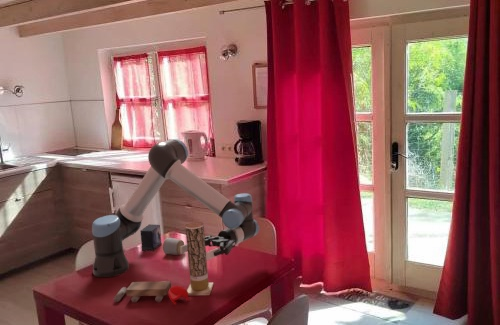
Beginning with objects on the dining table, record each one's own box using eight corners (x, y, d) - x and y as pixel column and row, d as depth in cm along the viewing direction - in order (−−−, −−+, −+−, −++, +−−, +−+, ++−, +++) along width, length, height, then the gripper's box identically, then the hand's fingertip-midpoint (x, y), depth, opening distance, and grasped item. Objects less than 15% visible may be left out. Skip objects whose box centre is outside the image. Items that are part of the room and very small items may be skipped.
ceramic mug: (178, 257, 216) (177, 241, 215) (163, 256, 219) (161, 240, 218) (189, 249, 226) (188, 234, 225) (174, 248, 229) (173, 233, 228)
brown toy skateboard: (113, 303, 174) (111, 290, 173) (121, 292, 182) (120, 281, 181) (166, 302, 172) (165, 289, 171) (172, 291, 180) (171, 279, 180)
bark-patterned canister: (201, 292, 176) (195, 228, 171) (187, 289, 179) (181, 226, 175) (212, 285, 181) (207, 223, 177) (198, 282, 185) (193, 221, 181)
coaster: (185, 295, 176) (185, 293, 176) (190, 285, 185) (190, 282, 185) (209, 295, 175) (209, 292, 175) (213, 284, 184) (213, 282, 184)
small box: (154, 251, 226) (152, 230, 225) (141, 251, 228) (139, 230, 226) (162, 244, 237) (160, 224, 235) (150, 244, 238) (148, 224, 236)
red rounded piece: (166, 299, 167) (180, 290, 166) (164, 287, 172) (178, 278, 171) (179, 311, 171) (193, 302, 171) (177, 299, 176) (190, 290, 176)
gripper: (255, 250, 185) (219, 269, 169) (209, 240, 201) (171, 256, 185) (253, 232, 184) (217, 249, 168) (207, 223, 200) (170, 238, 183)
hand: (193, 253), depth 176 cm, fingers open, 13 cm apart
